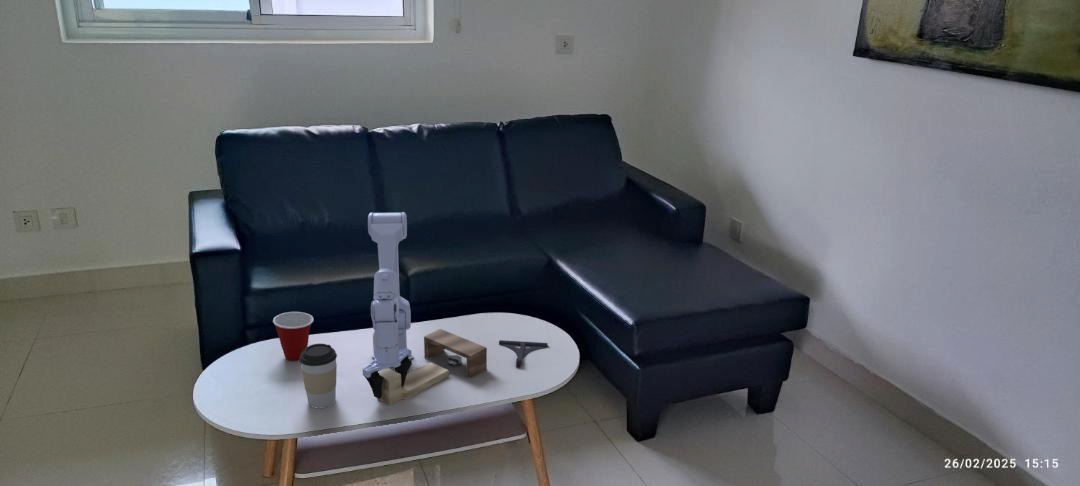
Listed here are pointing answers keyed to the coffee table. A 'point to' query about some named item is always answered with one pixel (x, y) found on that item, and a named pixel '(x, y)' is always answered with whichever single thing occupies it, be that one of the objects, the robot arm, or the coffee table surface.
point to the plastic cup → (293, 333)
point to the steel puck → (454, 361)
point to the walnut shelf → (457, 350)
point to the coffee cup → (319, 374)
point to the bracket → (522, 348)
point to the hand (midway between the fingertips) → (389, 391)
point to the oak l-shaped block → (409, 382)
